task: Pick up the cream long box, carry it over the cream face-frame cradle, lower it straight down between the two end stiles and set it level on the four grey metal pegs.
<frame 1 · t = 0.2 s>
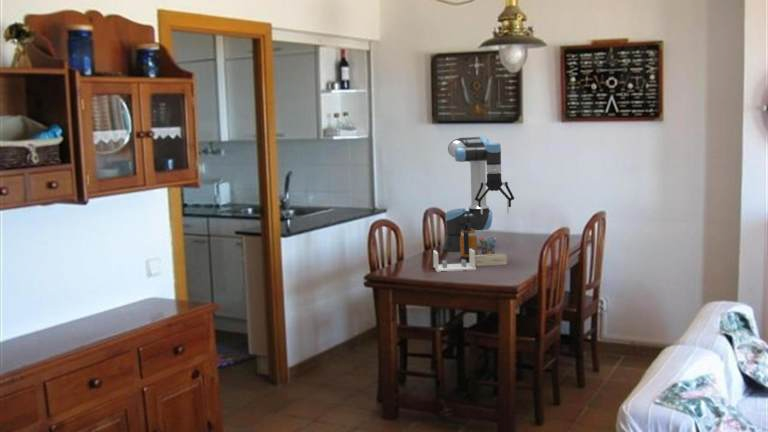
hand: (494, 213, 413), 26 cm above the table, fingers open, 13 cm apart
cradle: (454, 268, 408), on the table
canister: (468, 260, 430), on the table
cream long box: (490, 264, 416), on the table
mug: (489, 257, 435), on the table
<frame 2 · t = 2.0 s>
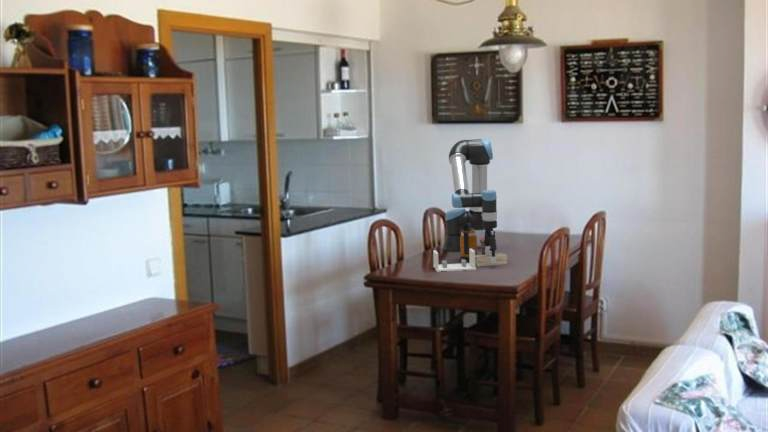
hand: (490, 260, 415), 2 cm above the table, fingers open, 13 cm apart
nothing on the table moved.
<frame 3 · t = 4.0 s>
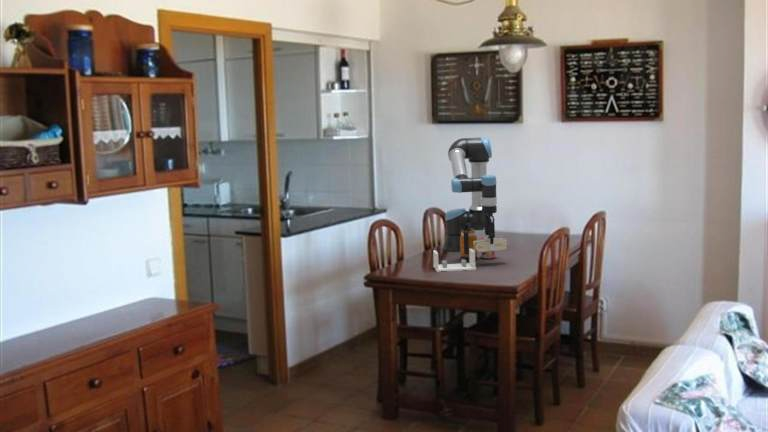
hand: (490, 248, 415), 8 cm above the table, fingers closed on cream long box, 7 cm apart
cream long box: (490, 249, 415), point 7 cm above the table, touching gripper
everything else where it was.
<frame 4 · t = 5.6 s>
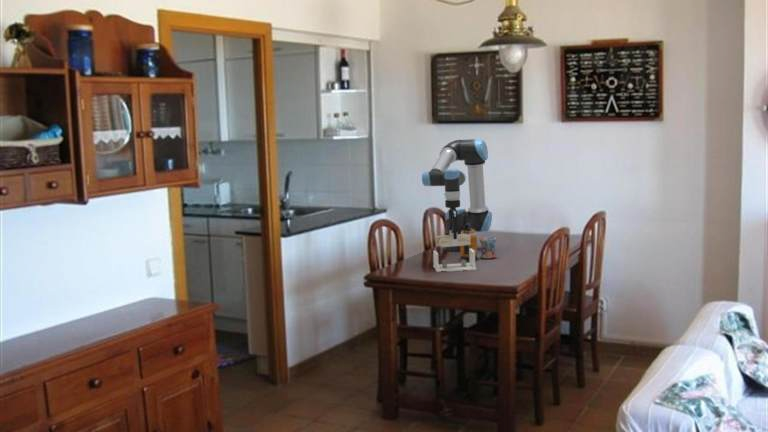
hand: (453, 244, 407), 13 cm above the table, fingers closed on cream long box, 7 cm apart
cream long box: (453, 245, 407), point 12 cm above the table, touching gripper
everything else where it was.
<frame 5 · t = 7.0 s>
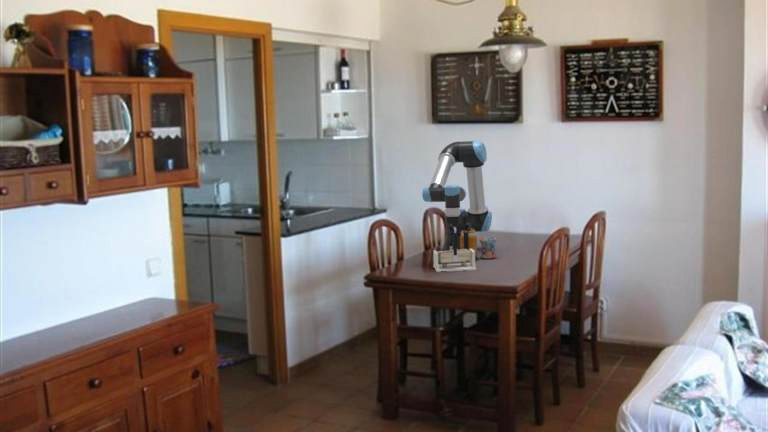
hand: (454, 260, 408), 4 cm above the table, fingers closed on cream long box, 7 cm apart
cream long box: (454, 260, 408), point 4 cm above the table, touching cradle, gripper
everything else where it was.
when the fingers open (4 cm above the table, at t = 7.5 s): cream long box stays where it is, resting on cradle.
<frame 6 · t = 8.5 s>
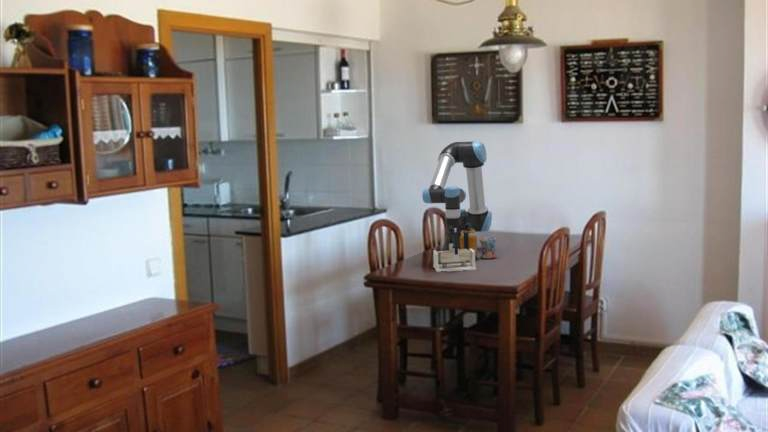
hand: (454, 258, 408), 5 cm above the table, fingers open, 13 cm apart
cream long box: (454, 260, 408), point 4 cm above the table, touching cradle
everything else where it was.
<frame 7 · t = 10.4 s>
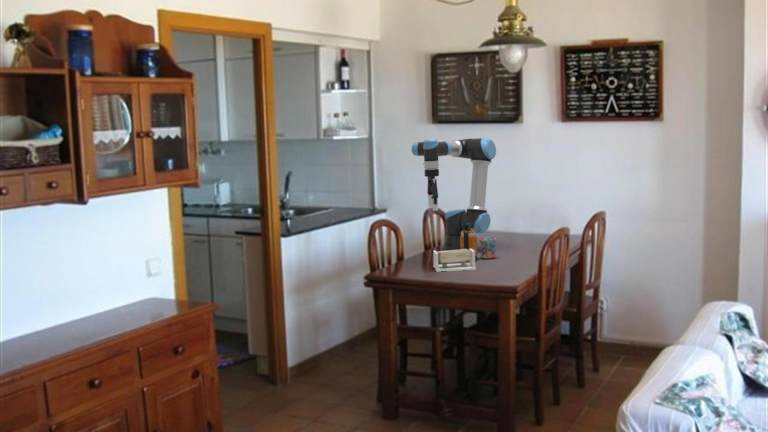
hand: (433, 208, 422), 29 cm above the table, fingers open, 13 cm apart
nothing on the table moved.
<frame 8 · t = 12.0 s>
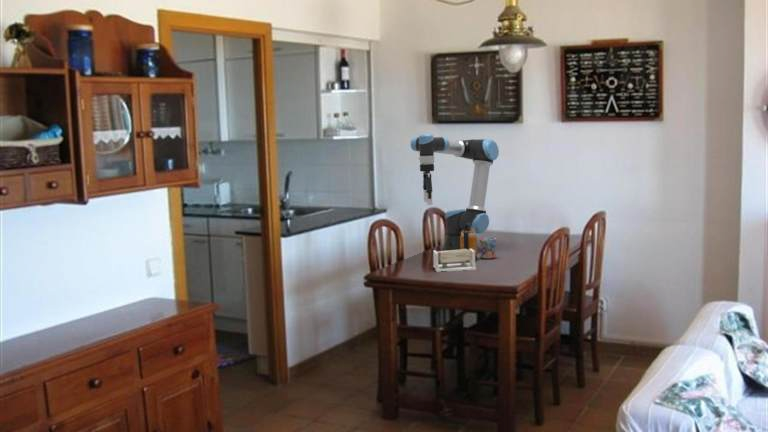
hand: (428, 203, 424), 32 cm above the table, fingers open, 13 cm apart
nothing on the table moved.
at the end: cream long box 0.1 cm off-centre on the cradle, point 4.0 cm above the cradle's base; cream long box tilted 0°; the gripper is holding nothing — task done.
